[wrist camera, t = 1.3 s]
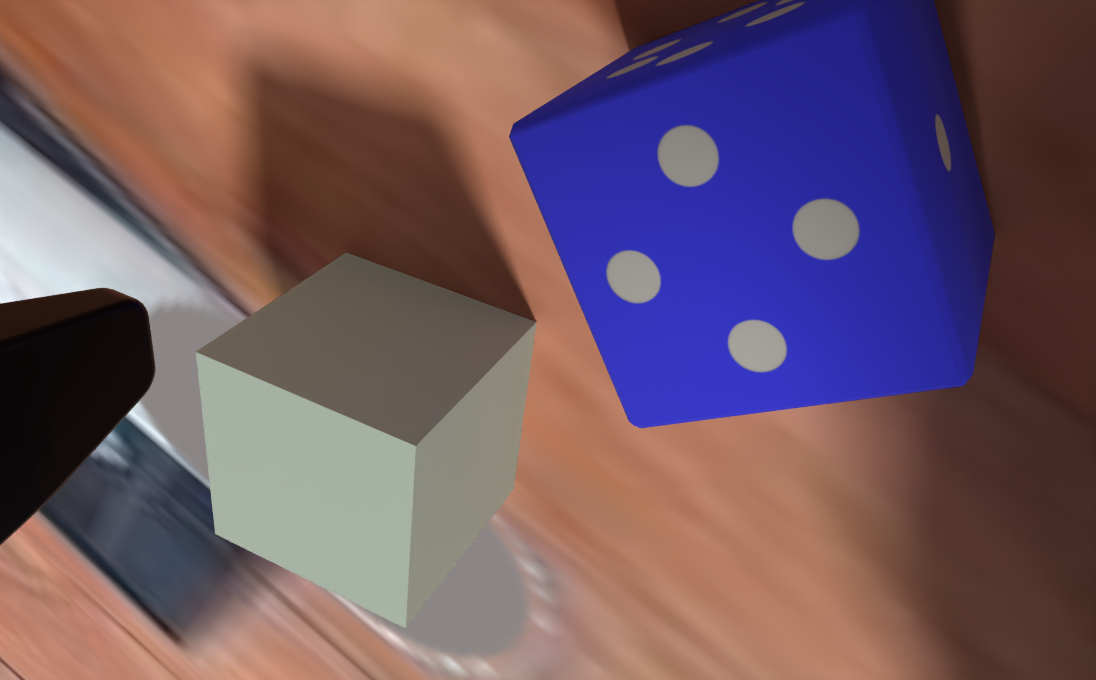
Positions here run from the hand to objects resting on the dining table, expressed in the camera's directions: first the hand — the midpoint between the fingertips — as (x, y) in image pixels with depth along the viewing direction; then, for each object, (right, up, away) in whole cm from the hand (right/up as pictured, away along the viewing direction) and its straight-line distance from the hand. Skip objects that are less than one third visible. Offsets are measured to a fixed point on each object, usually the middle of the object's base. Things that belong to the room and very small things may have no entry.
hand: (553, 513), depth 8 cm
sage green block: (-3, +1, +15) cm, 15 cm away
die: (+5, +5, +8) cm, 11 cm away
